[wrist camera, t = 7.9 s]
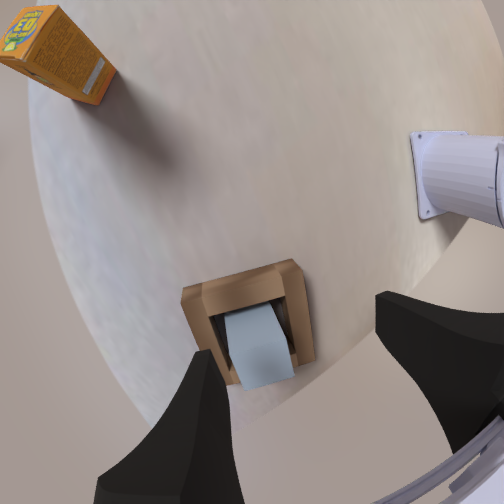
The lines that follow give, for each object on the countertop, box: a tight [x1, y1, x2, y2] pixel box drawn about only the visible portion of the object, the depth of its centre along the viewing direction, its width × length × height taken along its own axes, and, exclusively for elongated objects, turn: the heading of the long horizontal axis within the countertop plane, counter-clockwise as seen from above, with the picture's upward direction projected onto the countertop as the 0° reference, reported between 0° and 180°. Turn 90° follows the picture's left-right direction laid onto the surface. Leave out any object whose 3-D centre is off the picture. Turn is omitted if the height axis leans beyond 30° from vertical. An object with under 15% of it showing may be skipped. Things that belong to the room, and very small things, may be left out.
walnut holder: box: [181, 259, 315, 386], centre depth 20 cm, size 8×8×2 cm
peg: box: [224, 300, 295, 391], centre depth 19 cm, size 4×4×6 cm
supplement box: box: [0, 5, 116, 105], centre depth 9 cm, size 3×3×10 cm
